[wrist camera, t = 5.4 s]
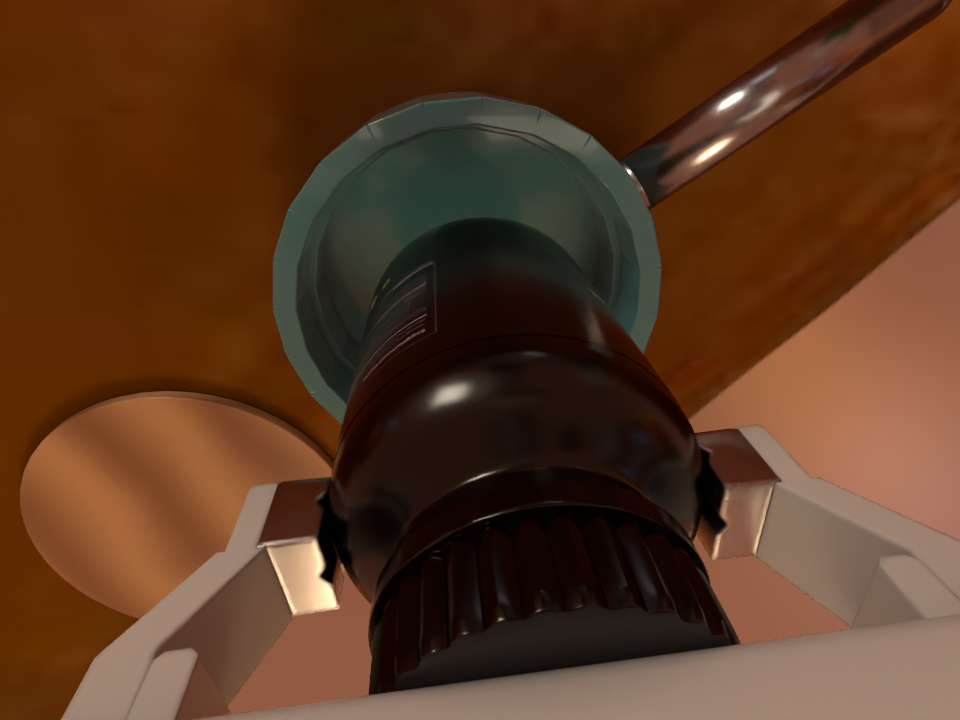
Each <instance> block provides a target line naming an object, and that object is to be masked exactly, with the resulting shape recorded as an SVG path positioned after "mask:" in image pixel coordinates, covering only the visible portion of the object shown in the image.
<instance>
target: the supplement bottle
mask: <svg viewBox="0 0 960 720" xmlns="http://www.w3.org/2000/svg"><path fill="white" fill-rule="evenodd" d="M704 489H705V476H704V467H703V459H702V455H701V451H700V448H699V444H698V440H697V438H696V435H695V433H694V431H693V428H692V426H691V424H690V423H689V421H688V419H687V417H686V416H685V414H684V412H683V411H682V409H681V407H680V406H679V404H678V402H677V401H676V399H675V398H674V396H673V395H672V393H671V392H670V391H669V389H668V388H667V386H666V385H665V384H664V382H663V381H662V379H661V378H660V377H659V375H658V374H657V373H656V371H655V370H654V368H653V367H652V366H651V364H650V363H649V362H648V360H647V359H646V357H645V356H644V355H643V353H642V352H641V350H640V349H639V348H638V346H637V345H636V344H635V342H634V341H633V339H632V338H631V337H630V335H629V334H628V333H627V331H626V330H625V328H624V327H623V326H622V324H621V323H620V322H619V320H618V319H617V317H616V316H615V315H614V313H613V312H612V311H611V309H610V308H609V306H608V305H607V304H606V302H605V301H604V300H603V298H602V297H601V295H600V294H599V293H598V291H597V290H596V288H595V287H594V286H593V284H592V283H591V282H590V280H589V279H588V277H587V276H586V275H585V273H584V272H583V271H582V270H581V268H580V267H579V266H578V264H577V263H576V262H575V261H574V260H573V258H572V257H571V256H570V255H569V254H568V253H567V252H566V250H565V249H564V248H563V247H561V246H560V245H559V244H558V243H557V242H555V241H554V240H553V239H552V238H550V237H549V236H547V235H546V234H544V233H543V232H541V231H539V230H537V229H535V228H533V227H531V226H528V225H526V224H523V223H520V222H517V221H513V220H508V219H503V218H494V217H474V218H467V219H461V220H456V221H452V222H449V223H446V224H443V225H440V226H438V227H436V228H433V229H431V230H429V231H427V232H426V233H424V234H422V235H420V236H419V237H417V238H416V239H415V240H413V241H412V242H410V243H409V244H408V245H407V246H406V247H405V248H403V249H402V250H401V251H400V252H399V253H398V255H397V256H396V257H395V258H394V259H393V260H392V262H391V263H390V264H389V266H388V267H387V268H386V270H385V272H384V273H383V275H382V277H381V279H380V281H379V283H378V285H377V287H376V289H375V292H374V295H373V298H372V302H371V305H370V309H369V312H368V316H367V321H366V325H365V329H364V334H363V338H362V342H361V347H360V351H359V355H358V359H357V364H356V368H355V372H354V377H353V381H352V385H351V389H350V394H349V398H348V402H347V407H346V411H345V415H344V420H343V424H342V428H341V432H340V437H339V441H338V445H337V450H336V454H335V459H334V464H333V468H332V476H331V481H330V488H329V499H328V512H329V524H330V529H331V534H332V538H333V541H334V544H335V547H336V550H337V553H338V556H339V558H340V560H341V562H342V564H343V566H344V568H345V570H346V572H347V574H348V576H349V577H350V579H351V580H352V582H353V583H354V585H355V586H356V588H357V589H358V590H359V592H360V593H361V594H362V595H363V596H364V598H365V599H366V600H367V601H368V602H369V603H370V604H371V612H370V619H369V635H368V637H369V647H370V651H371V655H372V663H371V674H370V685H369V695H374V694H381V693H388V692H396V691H403V690H410V689H417V688H425V687H432V686H439V685H447V684H454V683H461V682H469V681H476V680H483V679H490V678H498V677H505V676H512V675H520V674H527V673H534V672H542V671H549V670H556V669H564V668H571V667H578V666H586V665H593V664H600V663H608V662H615V661H622V660H630V659H637V658H644V657H651V656H658V655H666V654H673V653H680V652H687V651H695V650H702V649H709V648H716V647H723V646H731V645H738V644H740V641H739V639H738V636H737V635H736V633H735V631H734V629H733V627H732V625H731V623H730V621H729V619H728V617H727V616H726V614H725V612H724V610H723V608H722V606H721V604H720V602H719V601H718V599H717V597H716V595H715V593H714V592H713V589H712V588H711V585H710V579H709V575H708V572H707V569H706V568H705V565H704V563H703V561H702V559H701V557H700V555H699V554H698V552H697V550H696V548H695V546H694V544H693V541H694V539H695V536H696V534H697V530H698V527H699V523H700V519H701V516H702V509H703V502H704Z"/></svg>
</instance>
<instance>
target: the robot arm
mask: <svg viewBox="0 0 960 720" xmlns="http://www.w3.org/2000/svg"><path fill="white" fill-rule="evenodd" d="M695 435H696V438H697V440H698V444H699V448H700V451H701V455H702V459H703V467H704V476H705V489H704V502H703V509H702V516H701V519H700V523H699V527H698V530H697V535H698V537H699V539H700V541H701V542H702V544H703V546H704V548H705V550H706V551H707V553H708V555H709V556H710V558H711V560H718V559H727V558H737V557H746V556H756V558H757V559H758V560H760V561H761V562H763V563H764V564H765V565H767V566H768V567H769V568H771V569H772V570H774V571H775V572H776V573H778V574H779V575H780V576H782V577H783V578H784V579H786V580H787V581H789V582H790V583H791V584H793V585H794V586H795V587H797V588H798V589H799V590H801V591H802V592H804V593H805V594H806V595H808V596H809V597H810V598H812V599H813V600H815V601H816V602H817V603H818V604H820V605H821V606H823V607H824V608H825V609H827V610H828V611H829V612H831V613H832V614H833V615H835V616H836V617H838V618H839V619H840V620H842V621H843V622H844V623H846V624H847V625H849V626H850V627H851V628H850V629H847V630H840V631H833V632H825V633H818V634H811V635H803V636H796V637H789V638H781V639H774V640H767V641H760V642H753V643H745V644H738V645H731V646H723V647H716V648H709V649H702V650H695V651H687V652H680V653H673V654H666V655H658V656H651V657H644V658H637V659H630V660H622V661H615V662H608V663H600V664H593V665H586V666H578V667H571V668H564V669H556V670H549V671H542V672H534V673H527V674H520V675H512V676H505V677H498V678H490V679H483V680H476V681H469V682H461V683H454V684H447V685H439V686H432V687H425V688H417V689H410V690H403V691H396V692H388V693H381V694H374V695H366V696H359V697H352V698H345V699H337V700H330V701H323V702H316V703H308V704H301V705H294V706H287V707H279V708H272V709H265V710H257V711H250V712H243V713H235V714H231V712H230V710H229V709H228V705H229V704H230V703H231V701H232V700H233V699H234V697H235V696H236V695H237V693H238V692H239V691H240V689H241V688H242V687H243V685H244V684H245V682H246V681H247V680H248V678H249V677H250V676H251V674H252V673H253V672H254V670H255V669H256V668H257V666H258V665H259V664H260V662H261V661H262V660H263V658H264V657H265V656H266V654H267V653H268V652H269V650H270V649H271V648H272V646H273V645H274V643H275V642H276V641H277V639H278V638H279V637H280V635H281V634H282V633H283V631H284V630H285V629H286V627H287V626H288V624H289V623H290V622H291V621H292V619H293V618H292V616H296V615H302V614H308V613H315V612H321V611H328V610H334V609H339V608H340V601H341V595H342V588H343V582H344V575H343V572H342V568H341V564H342V562H341V560H340V558H339V556H338V553H337V550H336V547H335V544H334V541H333V538H332V534H331V529H330V524H329V512H328V499H329V488H330V481H331V477H324V478H313V479H303V480H293V481H283V482H277V483H267V484H257V485H254V486H253V487H252V488H251V489H250V490H249V492H248V495H247V497H246V500H245V502H244V505H243V507H242V510H241V512H240V515H239V517H238V520H237V522H236V525H235V527H234V530H233V532H232V535H231V537H230V540H229V542H228V545H227V547H226V550H225V552H219V553H216V554H215V555H213V556H212V557H211V558H210V559H209V560H208V561H207V562H205V563H204V564H203V565H202V566H201V567H200V568H198V569H197V570H196V571H195V572H194V573H193V574H191V575H190V576H189V577H188V578H187V579H186V580H185V581H183V582H182V583H181V584H180V585H179V586H178V587H176V588H175V589H174V590H173V591H172V592H171V593H169V594H168V595H167V596H166V597H165V598H164V599H162V600H161V601H160V602H159V603H158V604H157V605H156V606H154V607H153V608H152V609H151V610H150V611H149V612H147V613H146V614H145V615H144V616H143V617H142V618H140V619H139V620H138V621H137V622H136V623H135V624H133V625H132V626H131V627H130V628H129V629H128V630H127V631H125V632H124V633H123V634H122V635H121V636H120V637H118V638H117V639H116V640H115V641H114V642H113V643H111V644H110V645H109V646H108V647H107V648H106V649H104V650H103V651H102V652H101V653H100V654H99V655H98V656H96V657H95V658H94V660H93V662H92V664H91V665H90V667H89V669H88V671H87V673H86V675H85V676H84V678H83V680H82V682H81V684H80V686H79V687H78V689H77V691H76V693H75V695H74V697H73V698H72V700H71V702H70V704H69V706H68V708H67V709H66V711H65V713H64V715H63V717H62V719H61V720H960V540H957V539H955V538H953V537H951V536H949V535H946V534H944V533H942V532H940V531H938V530H935V529H933V528H931V527H928V526H926V525H924V524H922V523H920V522H918V521H915V520H913V519H911V518H908V517H906V516H904V515H902V514H900V513H898V512H895V511H893V510H891V509H888V508H886V507H884V506H882V505H880V504H878V503H875V502H873V501H871V500H869V499H866V498H864V497H862V496H860V495H858V494H855V493H853V492H851V491H849V490H846V489H844V488H842V487H840V486H838V485H835V484H833V483H831V482H828V481H826V480H824V479H822V478H811V477H810V476H809V475H808V474H807V473H806V472H805V470H803V468H802V467H801V466H800V465H799V464H798V463H797V462H796V461H795V460H794V459H793V458H792V456H791V455H790V454H789V453H788V452H787V451H786V450H785V449H784V448H783V447H782V446H781V444H780V443H779V442H778V441H777V440H776V439H775V438H774V437H773V436H772V435H771V434H770V432H769V431H768V430H767V429H766V428H765V427H763V426H761V425H759V424H756V425H748V426H741V427H734V428H732V429H723V430H716V431H707V432H700V433H695Z"/></svg>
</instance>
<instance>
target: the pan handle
mask: <svg viewBox="0 0 960 720" xmlns="http://www.w3.org/2000/svg"><path fill="white" fill-rule="evenodd" d="M951 1H952V0H848V1H847V2H845V3H844V4H842V5H841V6H839V7H838V8H837V9H835V10H834V11H832V12H831V13H829V14H828V15H827V16H825V17H824V18H822V19H821V20H819V21H818V22H817V23H815V24H814V25H812V26H811V27H809V28H808V29H807V30H805V31H804V32H802V33H801V34H799V35H798V36H797V37H795V38H794V39H792V40H791V41H789V42H788V43H787V44H785V45H784V46H782V47H781V48H779V49H778V50H777V51H775V52H774V53H772V54H771V55H769V56H768V57H767V58H765V59H764V60H762V61H761V62H759V63H758V64H757V65H755V66H754V67H752V68H751V69H749V70H748V71H747V72H745V73H744V74H742V75H741V76H739V77H738V78H736V79H735V80H734V81H732V82H731V83H729V84H728V85H726V86H725V87H724V88H722V89H721V90H719V91H718V92H716V93H715V94H714V95H712V96H711V97H709V98H708V99H706V100H705V101H704V102H702V103H701V104H699V105H698V106H696V107H695V108H694V109H692V110H691V111H689V112H688V113H686V114H685V115H684V116H682V117H681V118H679V119H678V120H676V121H675V122H674V123H672V124H671V125H669V126H668V127H666V128H665V129H664V130H662V131H661V132H659V133H658V134H656V135H655V136H654V137H652V138H651V139H649V140H648V141H646V142H645V143H644V144H642V145H641V146H639V147H638V148H636V149H635V150H634V151H632V152H631V153H629V154H628V155H626V156H625V157H623V158H622V159H621V160H619V161H618V162H619V163H620V164H621V165H622V166H623V167H624V168H625V169H626V170H627V171H628V173H629V174H630V175H631V177H632V179H633V181H634V183H635V185H636V186H637V188H638V190H639V192H640V194H641V196H642V198H643V200H644V202H645V204H646V206H647V208H648V209H649V210H650V209H651V208H653V207H654V206H656V205H657V204H659V203H660V202H662V201H663V200H665V199H666V198H668V197H669V196H671V195H672V194H674V193H675V192H677V191H678V190H680V189H681V188H683V187H684V186H686V185H687V184H689V183H690V182H692V181H693V180H695V179H696V178H698V177H699V176H701V175H702V174H704V173H705V172H707V171H708V170H710V169H711V168H713V167H714V166H716V165H717V164H719V163H720V162H722V161H723V160H725V159H726V158H728V157H729V156H731V155H732V154H734V153H735V152H737V151H738V150H740V149H741V148H743V147H744V146H746V145H747V144H749V143H750V142H752V141H753V140H755V139H756V138H758V137H759V136H761V135H762V134H764V133H765V132H767V131H768V130H770V129H771V128H772V127H774V126H775V125H777V124H778V123H780V122H781V121H783V120H784V119H786V118H787V117H789V116H790V115H792V114H793V113H795V112H796V111H798V110H799V109H801V108H802V107H804V106H805V105H807V104H808V103H810V102H811V101H813V100H814V99H816V98H817V97H819V96H820V95H822V94H823V93H825V92H826V91H828V90H829V89H831V88H832V87H834V86H835V85H837V84H838V83H840V82H841V81H843V80H844V79H846V78H847V77H849V76H850V75H852V74H853V73H855V72H856V71H858V70H859V69H861V68H862V67H864V66H865V65H867V64H868V63H870V62H871V61H873V60H874V59H876V58H877V57H879V56H880V55H882V54H883V53H885V52H886V51H888V50H889V49H891V48H892V47H894V46H895V45H897V44H898V43H900V42H901V41H903V40H904V39H905V38H907V37H908V36H910V35H911V34H913V33H914V32H916V31H917V30H919V29H920V28H922V27H923V26H925V25H926V24H928V23H929V22H931V21H932V20H934V19H935V18H936V17H937V16H939V15H940V14H941V13H942V12H943V11H944V10H945V9H946V8H947V7H948V6H949V4H950V3H951Z"/></svg>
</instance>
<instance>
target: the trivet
mask: <svg viewBox="0 0 960 720" xmlns="http://www.w3.org/2000/svg"><path fill="white" fill-rule="evenodd" d="M333 464H334V462H333V461H332V460H331V458H330V457H329V456H328V455H327V454H326V453H325V452H324V451H323V450H322V449H321V448H320V447H319V446H318V445H317V444H316V443H315V442H313V441H312V440H311V439H310V438H308V437H307V436H306V435H305V434H303V433H302V432H301V431H299V430H298V429H296V428H294V427H293V426H291V425H290V424H288V423H286V422H285V421H283V420H281V419H279V418H277V417H275V416H273V415H271V414H269V413H267V412H265V411H263V410H261V409H258V408H255V407H252V406H250V405H247V404H244V403H241V402H238V401H234V400H231V399H227V398H223V397H219V396H214V395H208V394H201V393H194V392H179V391H157V392H142V393H136V394H130V395H125V396H119V397H116V398H113V399H109V400H106V401H103V402H99V403H97V404H94V405H92V406H90V407H88V408H86V409H83V410H81V411H79V412H77V413H76V414H74V415H73V416H71V417H70V418H68V419H66V420H65V421H63V422H62V423H61V424H60V425H59V426H57V427H56V428H55V429H54V430H53V431H52V432H51V433H50V434H49V435H48V436H47V437H46V438H45V439H44V440H43V441H42V442H41V443H40V444H39V446H38V447H37V448H36V450H35V451H34V452H33V454H32V455H31V457H30V459H29V461H28V463H27V466H26V468H25V470H24V473H23V478H22V482H21V486H20V506H21V512H22V518H23V521H24V524H25V527H26V529H27V532H28V535H29V536H30V538H31V540H32V542H33V543H34V545H35V547H36V549H37V550H38V551H39V553H40V554H41V555H42V557H43V558H44V559H45V560H46V562H47V563H48V564H49V565H50V566H51V567H52V568H53V569H54V570H55V571H56V572H57V573H58V574H59V575H60V576H61V577H62V578H63V579H65V580H66V581H67V582H68V583H70V584H71V585H72V586H73V587H75V588H76V589H78V590H79V591H81V592H82V593H84V594H85V595H87V596H88V597H90V598H92V599H93V600H95V601H97V602H99V603H101V604H103V605H105V606H107V607H109V608H111V609H114V610H116V611H119V612H121V613H123V614H126V615H128V616H132V617H135V618H138V619H140V618H142V617H143V616H144V615H145V614H146V613H147V612H149V611H150V610H151V609H152V608H153V607H154V606H156V605H157V604H158V603H159V602H160V601H161V600H162V599H164V598H165V597H166V596H167V595H168V594H169V593H171V592H172V591H173V590H174V589H175V588H176V587H178V586H179V585H180V584H181V583H182V582H183V581H185V580H186V579H187V578H188V577H189V576H190V575H191V574H193V573H194V572H195V571H196V570H197V569H198V568H200V567H201V566H202V565H203V564H204V563H205V562H207V561H208V560H209V559H210V558H211V557H212V556H213V555H215V554H216V553H219V552H225V550H226V547H227V545H228V542H229V540H230V537H231V535H232V532H233V530H234V527H235V525H236V522H237V520H238V517H239V515H240V512H241V510H242V507H243V505H244V502H245V500H246V497H247V495H248V492H249V490H250V489H251V488H252V487H253V486H254V485H257V484H267V483H277V482H283V481H293V480H303V479H313V478H324V477H331V476H332V468H333ZM341 568H342V572H344V571H345V568H344V566H343V564H341Z"/></svg>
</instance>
